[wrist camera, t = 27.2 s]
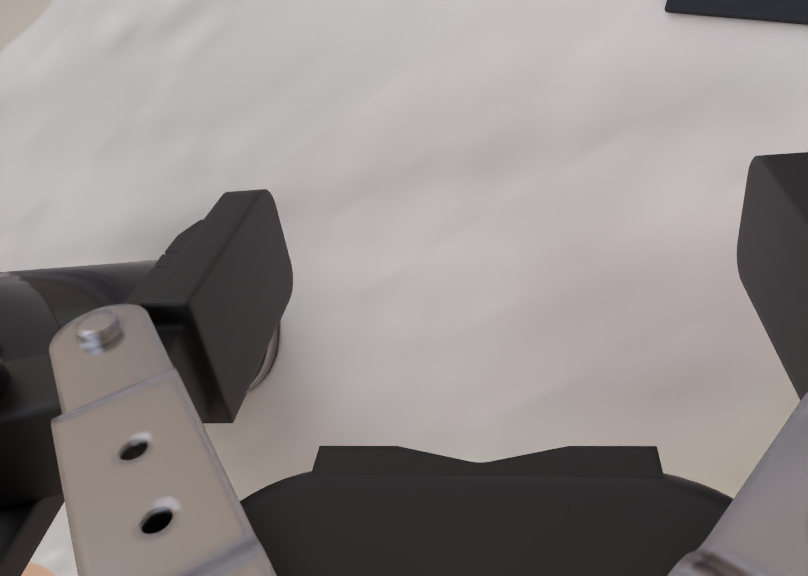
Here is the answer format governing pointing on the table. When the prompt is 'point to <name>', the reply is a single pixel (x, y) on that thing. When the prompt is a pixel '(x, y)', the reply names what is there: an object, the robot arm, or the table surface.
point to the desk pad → (745, 9)
